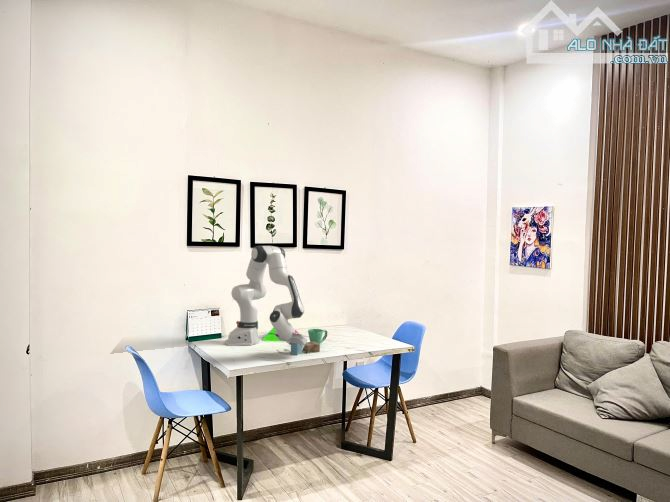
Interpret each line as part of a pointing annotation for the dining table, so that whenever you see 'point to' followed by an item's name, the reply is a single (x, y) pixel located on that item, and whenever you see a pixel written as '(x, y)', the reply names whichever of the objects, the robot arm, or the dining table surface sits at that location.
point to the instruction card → (284, 350)
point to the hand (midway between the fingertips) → (297, 345)
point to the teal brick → (296, 349)
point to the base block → (311, 347)
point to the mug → (317, 335)
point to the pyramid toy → (272, 336)
